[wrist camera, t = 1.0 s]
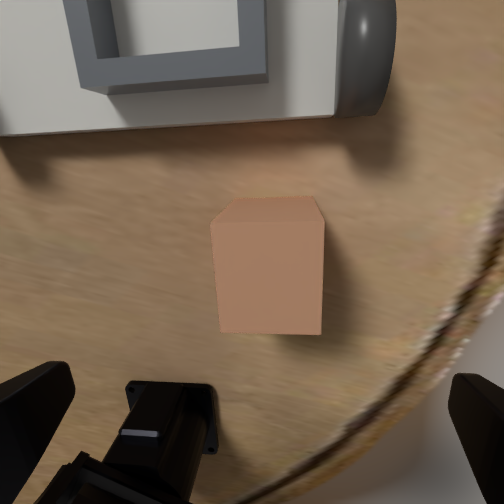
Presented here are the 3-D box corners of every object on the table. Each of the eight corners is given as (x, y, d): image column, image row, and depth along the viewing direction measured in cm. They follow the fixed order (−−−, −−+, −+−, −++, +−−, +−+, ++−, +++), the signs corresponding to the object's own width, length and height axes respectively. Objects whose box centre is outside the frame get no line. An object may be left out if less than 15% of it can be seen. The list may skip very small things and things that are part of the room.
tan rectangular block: (311, 277, 19) (320, 334, 13) (240, 277, 19) (220, 332, 13) (312, 196, 17) (324, 220, 11) (235, 198, 17) (210, 223, 12)
